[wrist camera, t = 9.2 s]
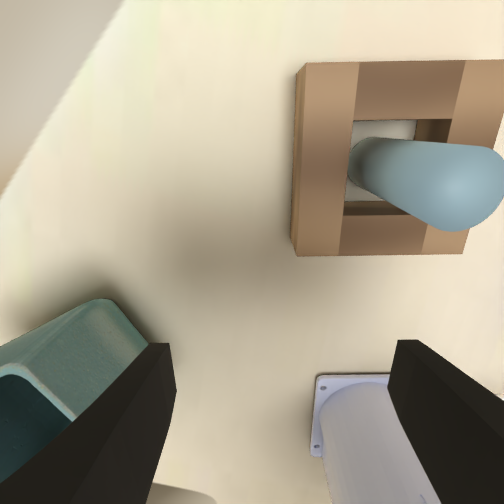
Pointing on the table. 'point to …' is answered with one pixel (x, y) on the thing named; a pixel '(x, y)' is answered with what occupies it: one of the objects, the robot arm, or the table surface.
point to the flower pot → (59, 375)
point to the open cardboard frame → (381, 108)
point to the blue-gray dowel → (431, 179)
